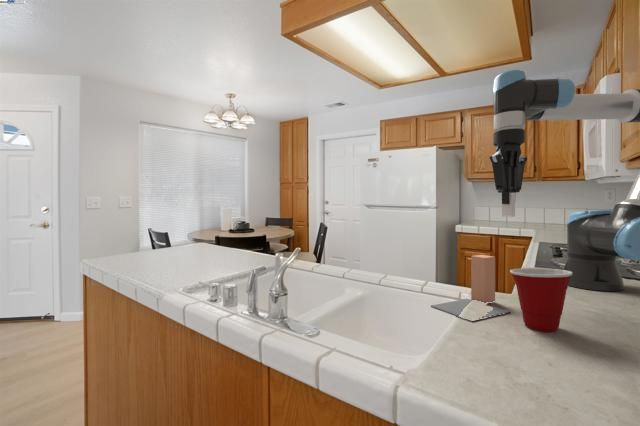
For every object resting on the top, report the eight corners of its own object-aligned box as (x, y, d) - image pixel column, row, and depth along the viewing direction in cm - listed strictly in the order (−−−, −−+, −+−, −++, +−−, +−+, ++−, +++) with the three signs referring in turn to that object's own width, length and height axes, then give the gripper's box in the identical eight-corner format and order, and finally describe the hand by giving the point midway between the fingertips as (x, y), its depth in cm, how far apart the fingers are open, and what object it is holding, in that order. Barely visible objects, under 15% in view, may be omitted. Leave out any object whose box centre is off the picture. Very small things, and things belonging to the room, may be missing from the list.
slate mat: (466, 300, 87) (466, 298, 87) (510, 313, 77) (510, 311, 77) (430, 307, 82) (430, 305, 82) (471, 322, 71) (472, 320, 71)
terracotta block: (481, 298, 88) (481, 254, 88) (495, 302, 85) (495, 256, 85) (471, 300, 87) (471, 255, 86) (484, 304, 83) (484, 257, 83)
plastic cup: (530, 315, 75) (530, 263, 75) (584, 331, 65) (584, 271, 65) (497, 322, 71) (497, 267, 70) (550, 341, 61) (550, 276, 60)
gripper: (510, 135, 96) (510, 215, 96) (480, 131, 90) (480, 216, 90) (537, 129, 89) (536, 216, 89) (506, 124, 83) (506, 217, 84)
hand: (508, 216), depth 90 cm, fingers closed
